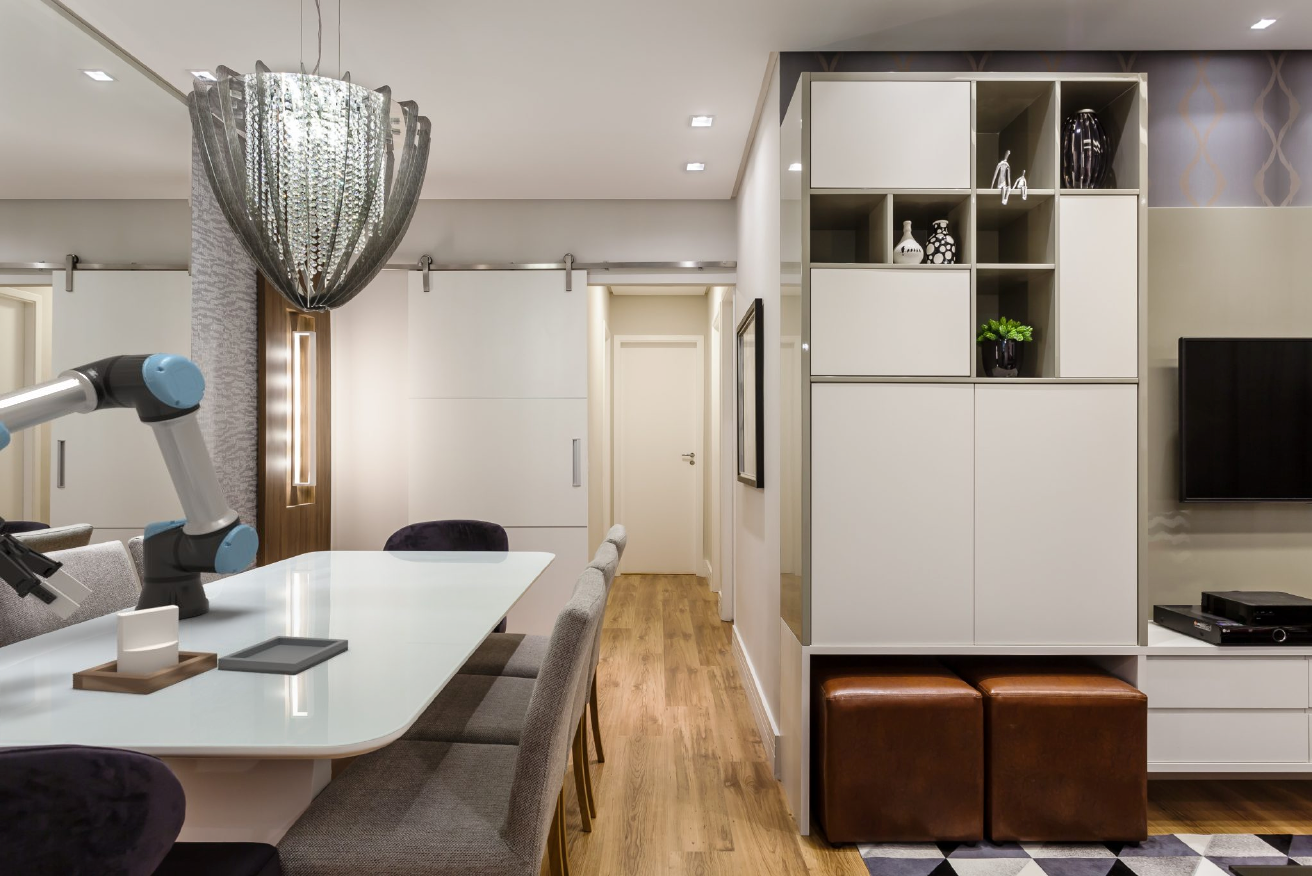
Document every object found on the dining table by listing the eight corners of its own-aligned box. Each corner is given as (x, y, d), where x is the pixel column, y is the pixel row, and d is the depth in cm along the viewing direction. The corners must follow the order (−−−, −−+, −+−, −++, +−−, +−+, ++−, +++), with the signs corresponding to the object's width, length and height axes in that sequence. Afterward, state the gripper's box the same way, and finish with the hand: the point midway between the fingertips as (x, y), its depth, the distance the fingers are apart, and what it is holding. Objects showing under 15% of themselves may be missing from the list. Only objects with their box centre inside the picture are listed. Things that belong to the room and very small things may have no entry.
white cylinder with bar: (168, 666, 136) (168, 602, 136) (185, 676, 131) (186, 609, 131) (110, 678, 129) (110, 611, 129) (126, 689, 124) (126, 619, 124)
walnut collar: (149, 661, 139) (149, 648, 139) (217, 666, 136) (217, 653, 136) (72, 688, 124) (72, 673, 124) (147, 694, 121) (147, 679, 121)
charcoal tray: (278, 645, 150) (278, 635, 150) (348, 649, 147) (348, 639, 147) (218, 669, 134) (218, 658, 134) (294, 674, 131) (294, 663, 131)
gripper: (-37, 531, 126) (72, 607, 134) (-89, 550, 105) (44, 639, 113) (3, 500, 129) (108, 576, 137) (-39, 511, 108) (87, 601, 115)
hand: (79, 605), depth 125 cm, fingers open, 13 cm apart
